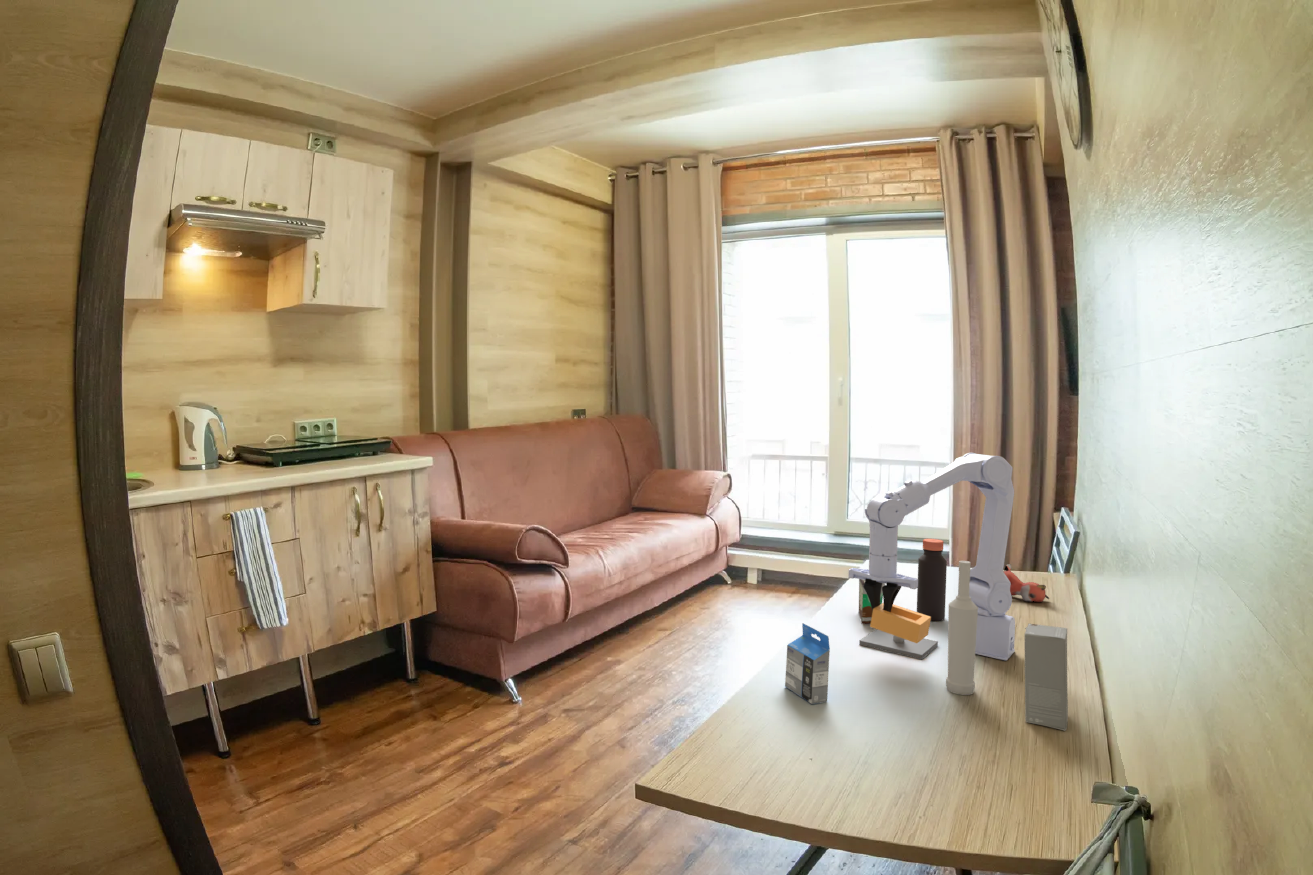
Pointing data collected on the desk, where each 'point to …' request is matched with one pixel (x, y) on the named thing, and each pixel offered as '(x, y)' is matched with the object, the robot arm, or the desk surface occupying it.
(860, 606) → the food container
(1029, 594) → the stuffed fox
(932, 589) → the vinegar
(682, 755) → the desk surface
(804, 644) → the label tape box
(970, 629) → the bottle
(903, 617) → the link
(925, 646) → the plate
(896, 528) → the robot arm
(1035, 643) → the skincare box
